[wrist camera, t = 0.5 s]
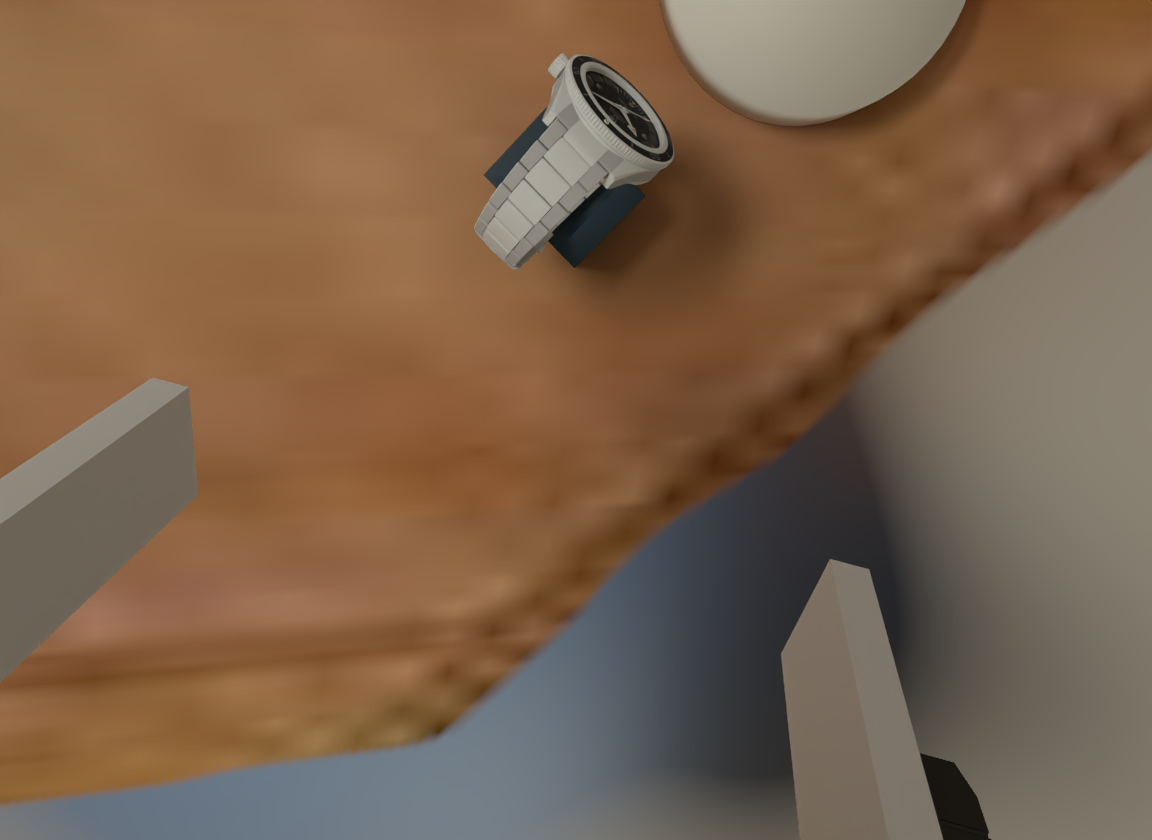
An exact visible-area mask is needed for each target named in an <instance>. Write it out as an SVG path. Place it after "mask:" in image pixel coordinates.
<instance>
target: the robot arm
mask: <svg viewBox="0 0 1152 840" xmlns="http://www.w3.org/2000/svg"><path fill="white" fill-rule="evenodd" d="M197 495H198V487H197V476H196V464H195V453H194V442H193V431H192V420H191V409H190V397H189V387H186V386H182V385H178V384H174V383H171V382H167V381H163V380H159V379H156V378H151V379H150V380H148V381H147V382H145V383H144V384H142V385H141V386H139V387H138V388H136V389H135V390H133V391H132V392H130V393H129V394H127V395H126V396H124V397H123V398H121V399H120V400H118V401H117V402H115V403H114V404H112V405H111V406H109V407H108V408H106V409H105V410H103V411H102V412H100V413H99V414H97V415H96V416H94V417H93V418H91V419H90V420H88V421H87V422H85V423H83V424H82V425H80V426H79V427H77V428H76V429H74V430H73V431H71V432H70V433H68V434H67V435H65V436H64V437H62V438H61V439H59V440H58V441H56V442H55V443H53V444H52V445H50V446H49V447H47V448H46V449H44V450H43V451H41V452H40V453H38V454H37V455H35V456H34V457H32V458H31V459H29V460H28V461H26V462H25V463H23V464H22V465H20V466H19V467H17V468H16V469H14V470H13V471H11V472H10V473H8V474H7V475H5V476H4V477H2V478H1V479H0V682H1V681H2V680H3V679H5V678H6V677H7V676H8V675H9V674H10V673H11V672H12V671H13V670H14V669H15V668H16V667H17V666H18V665H19V664H20V663H21V662H22V661H23V660H25V659H26V658H27V657H28V656H29V655H30V654H31V653H32V652H33V651H34V650H35V649H36V648H37V647H38V646H39V645H40V644H41V643H42V642H43V641H45V640H46V639H47V638H48V637H49V636H50V635H51V634H52V633H53V632H54V631H55V630H56V629H57V628H58V627H59V626H60V625H61V624H62V623H64V622H65V621H66V620H67V619H68V618H69V617H70V616H71V615H72V614H73V613H74V612H75V611H76V610H77V609H78V608H79V607H80V606H81V605H82V604H84V603H85V602H86V601H87V600H88V599H89V598H90V597H91V596H92V595H93V594H94V593H95V592H96V591H97V590H98V589H99V588H100V587H101V586H102V585H104V584H105V583H106V582H107V581H108V580H109V579H110V578H111V577H112V576H113V575H114V574H115V573H116V572H117V571H118V570H119V569H120V568H121V567H123V566H124V565H125V564H126V563H127V562H128V561H129V560H130V559H131V558H132V557H133V556H134V555H135V554H136V553H137V552H138V551H139V550H140V549H141V548H143V547H144V546H145V545H146V544H147V543H148V542H149V541H150V540H151V539H152V538H153V537H154V536H155V535H156V534H157V533H158V532H159V531H160V530H161V529H163V528H164V527H165V526H166V525H167V524H168V523H169V522H170V521H171V520H172V519H173V518H174V517H175V516H176V515H177V514H178V513H179V512H180V511H182V510H183V509H184V508H185V507H186V506H187V505H188V504H189V503H190V502H191V501H192V500H193V499H194V498H195V497H196V496H197ZM781 658H782V668H783V678H784V688H785V697H786V706H787V717H788V727H789V736H790V746H791V756H792V764H793V775H794V785H795V795H796V804H797V814H798V824H799V834H800V840H991V839H989V838H988V833H989V831H988V828H987V826H986V823H985V820H984V816H983V813H982V810H981V807H980V804H979V801H978V798H977V796H976V795H975V793H974V792H973V790H972V789H971V787H970V786H969V784H968V783H967V781H966V780H965V778H964V777H963V775H962V774H961V773H960V771H959V769H958V768H957V766H956V765H955V764H954V763H953V762H950V761H946V760H943V759H939V758H935V757H932V756H928V755H924V754H921V753H919V750H918V746H917V742H916V739H915V735H914V731H913V728H912V724H911V721H910V717H909V713H908V709H907V706H906V702H905V699H904V695H903V691H902V688H901V684H900V680H899V677H898V673H897V669H896V666H895V662H894V658H893V655H892V651H891V648H890V644H889V640H888V637H887V633H886V629H885V626H884V622H883V618H882V615H881V611H880V607H879V604H878V600H877V596H876V593H875V589H874V585H873V582H872V578H871V575H870V571H869V569H866V568H862V567H858V566H854V565H851V564H847V563H843V562H840V561H836V560H832V559H830V560H829V562H828V564H827V566H826V568H825V570H824V572H823V574H822V576H821V578H820V580H819V582H818V584H817V585H816V588H815V590H814V591H813V593H812V595H811V597H810V599H809V601H808V603H807V605H806V607H805V609H804V611H803V613H802V615H801V617H800V618H799V620H798V622H797V624H796V626H795V628H794V630H793V632H792V634H791V636H790V638H789V640H788V641H787V643H786V645H785V647H784V649H783V651H782V653H781Z"/></svg>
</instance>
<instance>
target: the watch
mask: <svg viewBox="0 0 1152 840" xmlns="http://www.w3.org/2000/svg"><path fill="white" fill-rule="evenodd" d="M548 71H549V72H550V73H551V75H552V76H553V77H554V78H555V79H557V78H558V79H557V80H556V82H555V83H554V85H553V89H552V94H551V100H550V103H549V105H548V106H547V107H546V109H545V110H544V111H543V112H542V113H541V114H540V115H539V116H538V117H537V118H536V119H535V120H534V121H533V123H532V124H531V125H530V126H529V127H528V128H527V129H526V130H525V131H524V132H523V133H522V134H521V135H520V137H519V138H518V139H517V140H516V141H515V142H514V143H513V144H512V145H511V146H510V147H509V148H508V149H507V150H506V152H505V153H504V154H503V155H502V156H501V157H500V158H499V159H498V160H497V161H496V162H495V163H494V164H493V166H492V167H491V168H490V169H489V170H488V171H487V172H486V173H485V174H484V176H485V177H486V178H487V179H488V180H489V181H490V182H491V183H492V184H493V185H494V186H495V187H496V188H497V189H496V191H495V192H494V193H493V195H492V196H491V198H490V199H489V202H488V203H487V205H486V206H485V208H484V209H483V211H482V213H481V214H480V217H479V218H478V220H477V222H476V224H475V227H474V228H475V232H476V233H477V234H478V235H479V237H480V238H481V239H482V240H483V241H484V242H485V244H486V245H487V246H488V247H489V248H490V249H491V250H492V251H493V252H494V253H495V254H496V255H497V256H498V257H499V258H500V259H502V260H503V261H504V262H505V263H506V264H507V265H508V266H510V267H511V268H512V269H513V270H517V269H519V268H520V267H521V266H522V265H523V264H524V263H525V262H526V261H528V260H529V259H530V258H531V257H532V256H533V255H534V254H535V253H536V252H538V253H541V252H542V251H543V250H544V249H545V248H546V246H545V245H544V244H545V243H546V242H547V241H549V242H550V243H551V244H552V245H553V246H554V248H555V249H556V250H557V251H558V252H559V253H560V254H561V255H562V256H563V257H564V258H565V259H566V260H567V261H568V262H569V263H570V264H571V265H572V266H573V267H574V268H575V267H576V266H577V265H578V264H579V263H580V262H581V261H582V260H583V259H584V258H585V257H586V256H587V255H588V254H589V253H590V252H591V251H592V250H593V249H594V248H595V247H596V246H597V245H598V244H599V243H600V242H601V241H602V240H603V239H604V238H605V237H606V235H607V234H608V233H609V232H610V231H611V230H612V229H613V228H614V227H615V226H616V225H617V224H618V223H619V222H620V221H621V220H622V219H623V218H624V217H625V216H626V215H627V214H628V213H629V212H630V211H631V210H632V209H633V208H634V207H635V206H636V205H637V204H638V203H639V202H640V201H641V200H642V199H643V198H644V197H645V195H644V194H643V193H642V192H641V191H640V190H639V189H638V188H637V187H636V186H635V185H641V184H644V183H647V182H649V181H650V180H651V179H652V178H653V177H654V176H655V175H656V174H657V173H658V172H659V171H660V170H661V169H664V168H666V167H667V166H668V165H669V164H670V163H671V162H672V161H673V159H674V146H673V143H672V140H671V137H670V135H669V133H668V131H667V129H666V127H665V125H664V123H663V122H662V120H661V119H660V117H659V115H658V114H657V113H656V111H655V110H654V109H653V107H652V106H651V105H650V103H649V102H648V101H647V100H646V99H645V98H644V96H643V95H642V94H641V93H640V92H639V91H638V90H637V89H636V88H635V87H634V86H633V85H632V84H631V83H630V82H629V81H628V80H626V79H625V78H624V77H623V76H622V75H620V74H619V73H618V72H617V71H615V70H614V69H612V68H611V67H610V66H608V65H606V64H605V63H603V62H601V61H599V60H597V59H595V58H593V57H590V56H587V55H581V54H579V55H574V56H573V57H572V58H571V59H570V60H569V59H568V58H567V57H566V56H565V55H564V54H563V53H562V54H561V55H559V56H558V57H557V58H556V59H555V60H554V62H553V63H552V64H551V66H550V67H549V69H548Z"/></svg>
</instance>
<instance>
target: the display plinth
mask: <svg viewBox="0 0 1152 840" xmlns="http://www.w3.org/2000/svg"><path fill="white" fill-rule="evenodd" d="M965 1H966V0H660V6H661V10H662V15H663V19H664V23H665V26H666V29H667V32H668V34H669V37H670V40H671V42H672V44H673V46H674V48H675V50H676V52H677V54H678V56H679V58H680V60H681V61H682V63H683V64H684V66H685V67H686V69H687V70H688V72H689V73H690V75H691V76H692V77H693V78H694V79H695V80H696V81H697V83H698V84H699V85H700V86H701V87H702V88H703V89H704V90H705V91H706V92H707V93H708V94H710V95H711V96H712V97H713V98H714V99H715V100H717V101H718V102H720V103H721V104H723V105H724V106H726V107H727V108H729V109H730V110H732V111H734V112H736V113H738V114H741V115H743V116H745V117H747V118H749V119H753V120H756V121H760V122H763V123H767V124H773V125H780V126H807V125H814V124H821V123H825V122H828V121H832V120H835V119H839V118H841V117H843V116H846V115H848V114H850V113H853V112H855V111H857V110H859V109H861V108H863V107H865V106H867V105H870V104H872V103H874V102H876V101H878V100H880V99H881V98H883V97H885V96H886V95H888V94H890V93H892V92H893V91H895V90H897V89H898V88H899V87H900V86H902V85H903V84H904V83H906V82H907V81H908V80H910V79H911V78H912V77H913V76H914V75H915V74H916V73H917V72H919V71H920V70H921V69H922V68H923V67H924V66H925V65H926V64H927V63H928V62H929V60H930V59H931V58H932V57H933V56H934V54H935V53H936V52H937V51H938V49H939V48H940V47H941V46H942V44H943V43H944V41H945V40H946V38H947V36H948V35H949V33H950V32H951V30H952V28H953V27H954V25H955V23H956V21H957V19H958V17H959V15H960V13H961V11H962V9H963V6H964V4H965Z"/></svg>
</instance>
